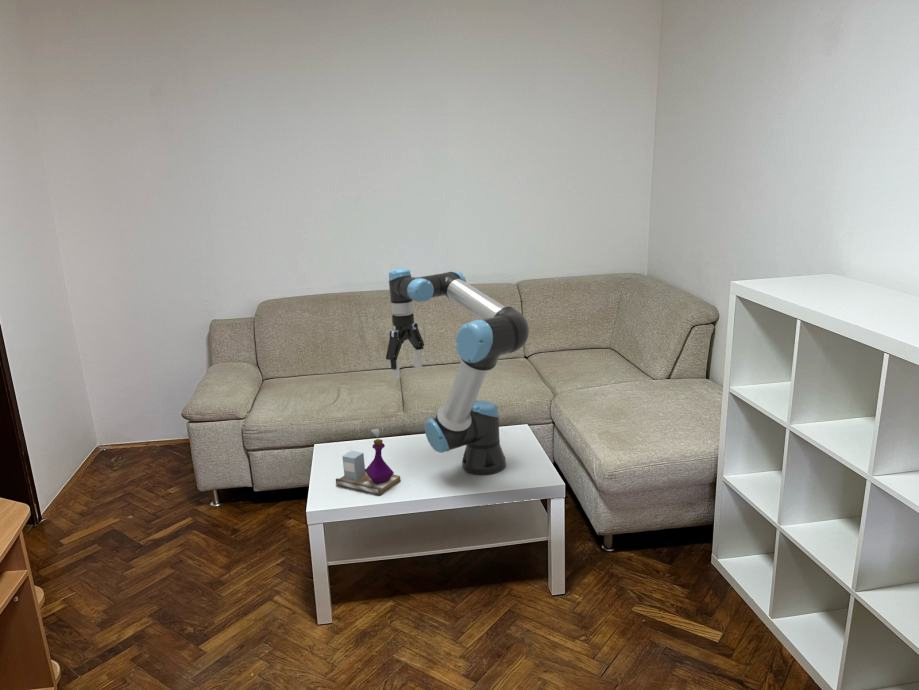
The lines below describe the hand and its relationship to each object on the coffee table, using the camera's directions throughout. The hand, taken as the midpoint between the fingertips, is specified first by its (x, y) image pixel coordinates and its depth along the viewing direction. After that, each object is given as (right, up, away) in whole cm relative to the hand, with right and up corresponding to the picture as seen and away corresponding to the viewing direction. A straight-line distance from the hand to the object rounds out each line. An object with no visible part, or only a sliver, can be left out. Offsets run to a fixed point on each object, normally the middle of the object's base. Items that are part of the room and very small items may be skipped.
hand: (407, 372), depth 254 cm
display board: (-12, -37, -13) cm, 41 cm away
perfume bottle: (-8, -36, -16) cm, 40 cm away
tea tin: (-17, -35, -12) cm, 40 cm away
